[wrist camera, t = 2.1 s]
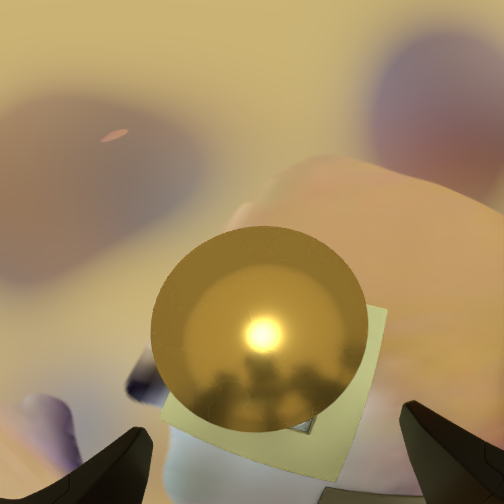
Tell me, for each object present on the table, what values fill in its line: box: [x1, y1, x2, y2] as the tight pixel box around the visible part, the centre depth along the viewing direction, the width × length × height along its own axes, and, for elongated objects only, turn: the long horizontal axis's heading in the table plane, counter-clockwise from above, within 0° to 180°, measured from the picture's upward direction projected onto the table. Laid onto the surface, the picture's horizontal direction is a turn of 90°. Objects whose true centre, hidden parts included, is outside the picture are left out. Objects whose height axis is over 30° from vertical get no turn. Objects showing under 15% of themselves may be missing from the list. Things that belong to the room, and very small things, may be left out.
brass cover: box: [151, 226, 368, 433], centre depth 13 cm, size 6×6×13 cm
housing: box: [159, 304, 388, 482], centre depth 17 cm, size 12×12×2 cm
